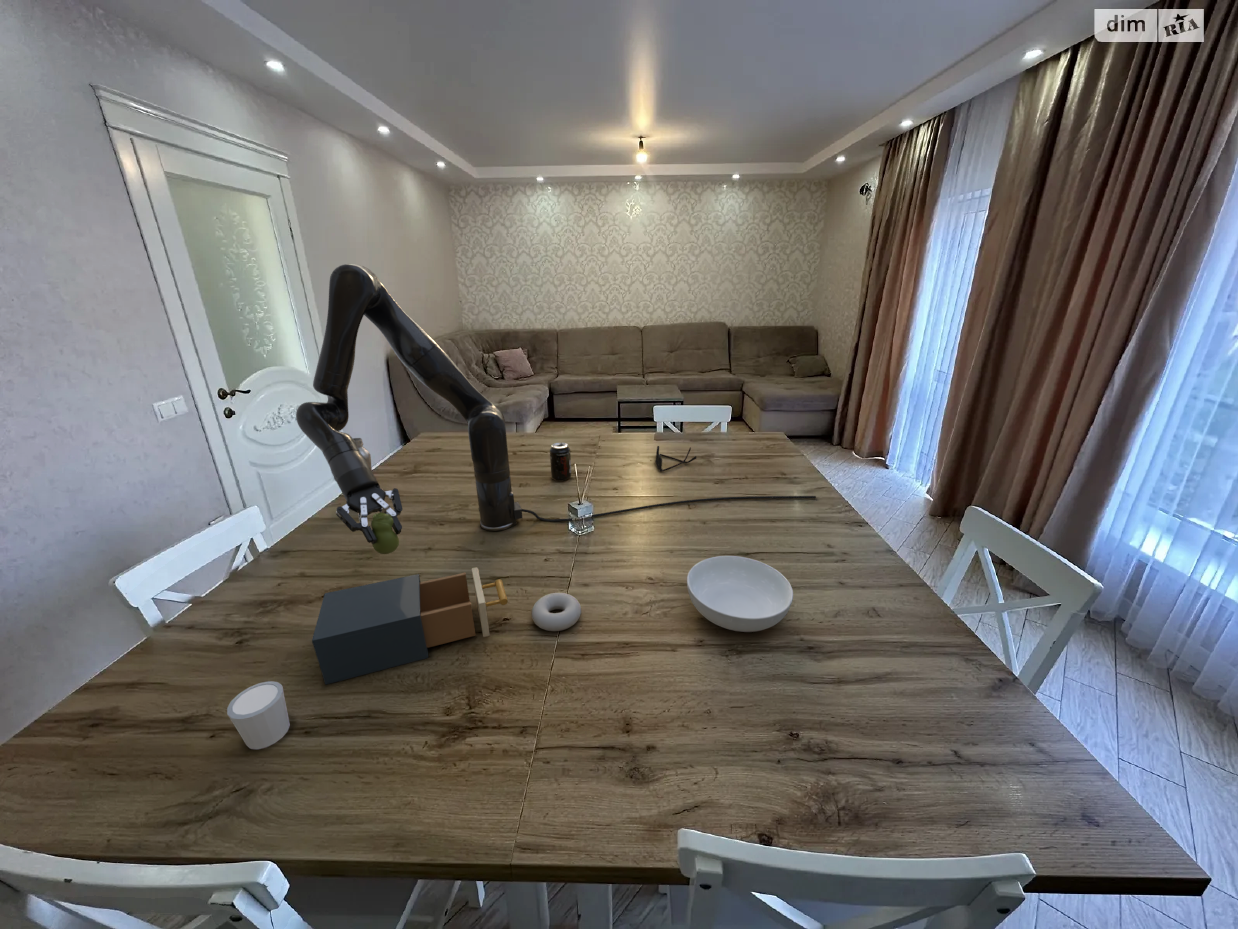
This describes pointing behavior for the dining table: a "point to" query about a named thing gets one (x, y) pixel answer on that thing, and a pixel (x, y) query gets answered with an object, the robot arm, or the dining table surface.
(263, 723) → the white tapered tub
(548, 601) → the donut
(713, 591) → the serving bowl
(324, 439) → the robot arm
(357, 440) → the plastic bottle
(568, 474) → the beverage can
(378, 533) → the pear
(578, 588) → the dining table surface
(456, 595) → the drawer
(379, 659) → the cabinet
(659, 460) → the sunglasses
